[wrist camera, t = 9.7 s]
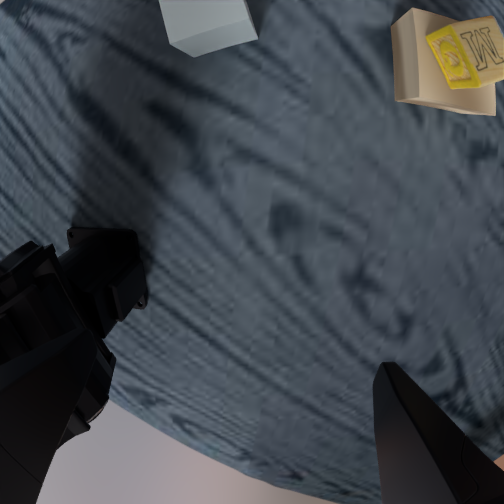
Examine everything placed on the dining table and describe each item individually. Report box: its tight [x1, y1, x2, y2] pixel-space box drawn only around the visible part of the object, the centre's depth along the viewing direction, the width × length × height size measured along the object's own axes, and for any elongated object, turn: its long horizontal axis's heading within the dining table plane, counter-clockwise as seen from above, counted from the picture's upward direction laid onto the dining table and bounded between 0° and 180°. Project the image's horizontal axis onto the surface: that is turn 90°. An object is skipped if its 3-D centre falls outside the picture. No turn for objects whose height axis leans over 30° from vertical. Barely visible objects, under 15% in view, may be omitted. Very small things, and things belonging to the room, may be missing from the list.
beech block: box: [391, 8, 496, 116], centre depth 12 cm, size 5×5×4 cm
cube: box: [159, 0, 258, 58], centre depth 12 cm, size 4×4×4 cm
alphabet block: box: [425, 16, 504, 89], centre depth 9 cm, size 3×3×3 cm
